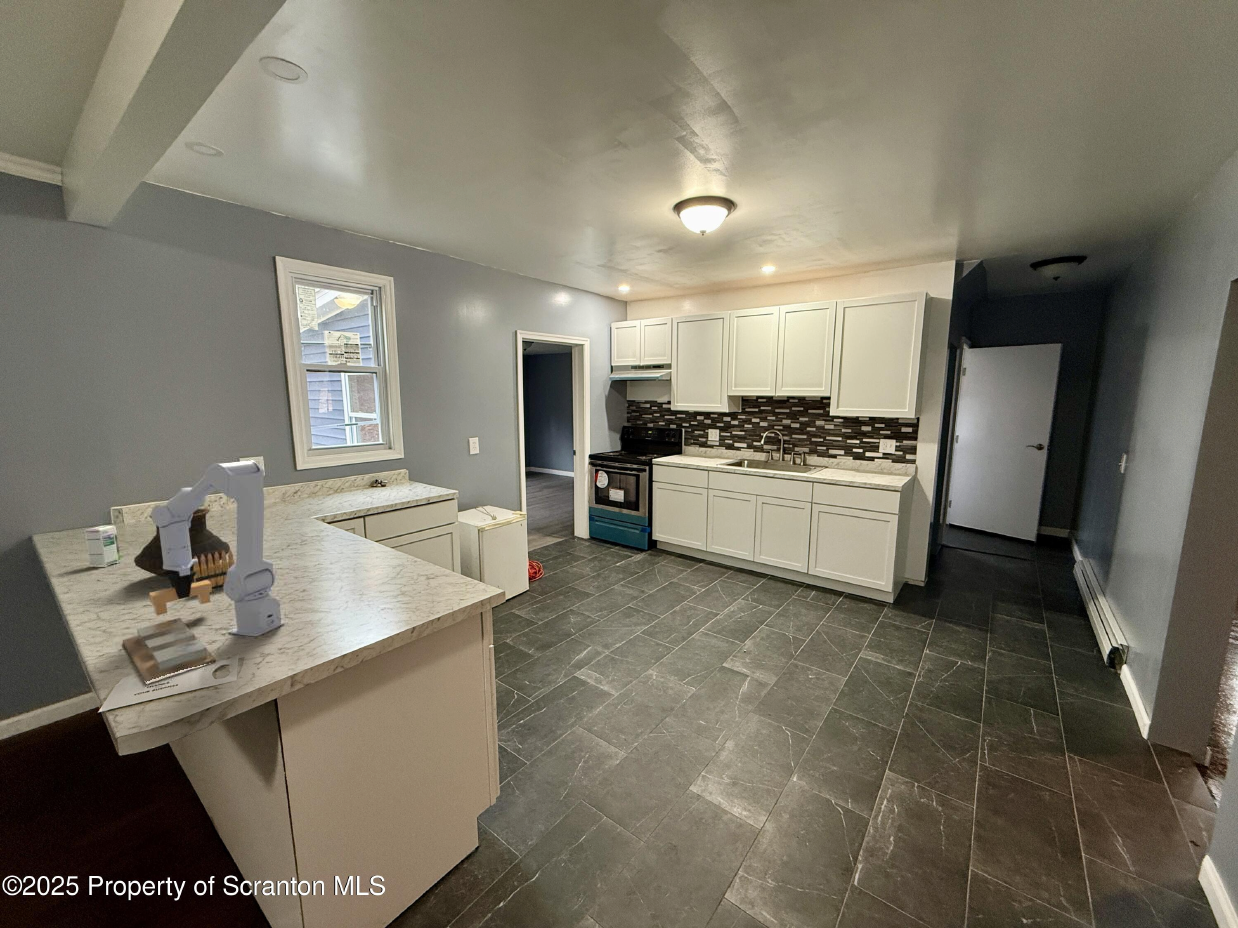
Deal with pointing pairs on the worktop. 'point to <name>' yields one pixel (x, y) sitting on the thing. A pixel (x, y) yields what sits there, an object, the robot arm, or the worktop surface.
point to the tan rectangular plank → (170, 595)
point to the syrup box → (102, 545)
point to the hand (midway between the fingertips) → (182, 595)
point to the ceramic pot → (199, 542)
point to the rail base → (147, 663)
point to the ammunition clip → (212, 573)
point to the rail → (171, 644)
